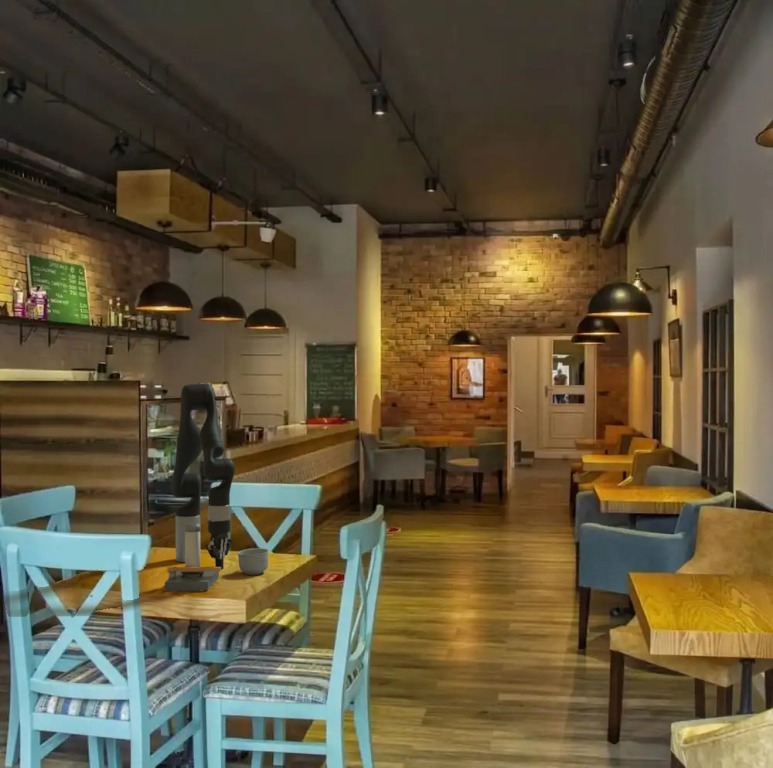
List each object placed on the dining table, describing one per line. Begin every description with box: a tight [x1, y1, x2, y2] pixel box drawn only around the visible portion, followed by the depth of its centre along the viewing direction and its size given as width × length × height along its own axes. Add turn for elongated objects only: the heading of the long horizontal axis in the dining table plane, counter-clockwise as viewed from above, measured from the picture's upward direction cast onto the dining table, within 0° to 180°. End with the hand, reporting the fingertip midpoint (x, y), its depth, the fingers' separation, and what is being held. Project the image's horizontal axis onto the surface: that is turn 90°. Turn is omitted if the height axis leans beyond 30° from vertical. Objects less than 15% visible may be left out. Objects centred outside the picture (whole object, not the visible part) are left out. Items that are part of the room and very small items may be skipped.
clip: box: [166, 566, 222, 573], centre depth 288 cm, size 3×18×1 cm, turn 91°
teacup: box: [237, 547, 269, 576], centre depth 310 cm, size 14×11×8 cm
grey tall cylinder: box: [181, 523, 204, 577], centre depth 292 cm, size 8×8×20 cm
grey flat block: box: [164, 571, 220, 592], centre depth 292 cm, size 20×14×5 cm
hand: (219, 569), depth 292 cm, fingers closed
